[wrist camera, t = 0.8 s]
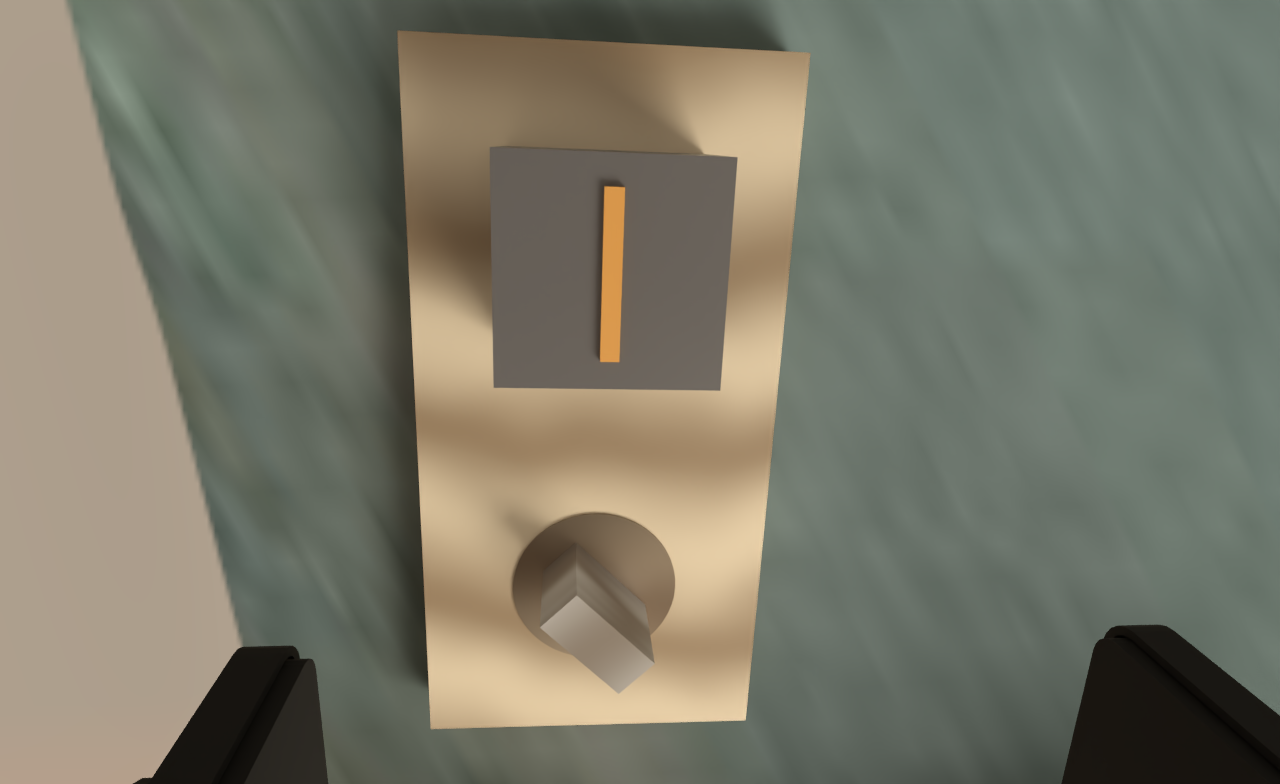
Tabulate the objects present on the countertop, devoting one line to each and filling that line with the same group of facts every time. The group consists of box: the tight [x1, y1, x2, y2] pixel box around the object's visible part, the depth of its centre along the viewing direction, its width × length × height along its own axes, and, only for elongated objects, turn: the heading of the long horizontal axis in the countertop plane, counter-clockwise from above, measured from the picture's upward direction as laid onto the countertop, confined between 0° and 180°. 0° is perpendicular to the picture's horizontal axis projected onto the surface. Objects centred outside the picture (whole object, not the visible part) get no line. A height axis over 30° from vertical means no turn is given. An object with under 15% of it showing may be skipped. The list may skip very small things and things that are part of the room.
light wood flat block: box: [397, 31, 810, 729], centre depth 26 cm, size 24×12×6 cm, turn 178°
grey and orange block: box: [490, 146, 738, 391], centre depth 22 cm, size 6×6×5 cm
